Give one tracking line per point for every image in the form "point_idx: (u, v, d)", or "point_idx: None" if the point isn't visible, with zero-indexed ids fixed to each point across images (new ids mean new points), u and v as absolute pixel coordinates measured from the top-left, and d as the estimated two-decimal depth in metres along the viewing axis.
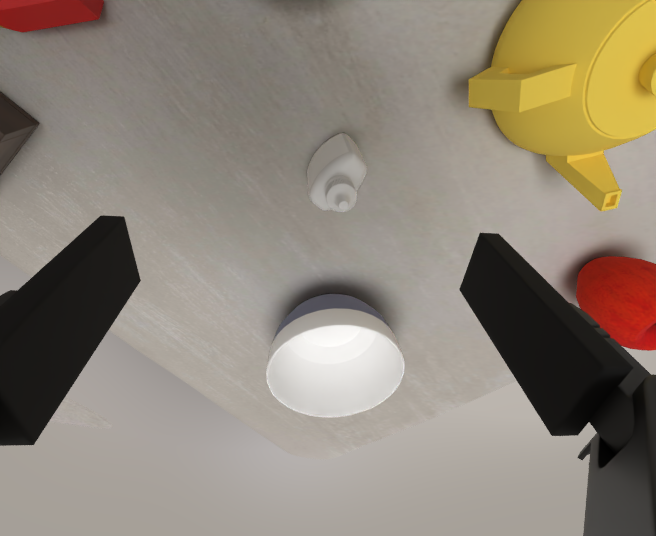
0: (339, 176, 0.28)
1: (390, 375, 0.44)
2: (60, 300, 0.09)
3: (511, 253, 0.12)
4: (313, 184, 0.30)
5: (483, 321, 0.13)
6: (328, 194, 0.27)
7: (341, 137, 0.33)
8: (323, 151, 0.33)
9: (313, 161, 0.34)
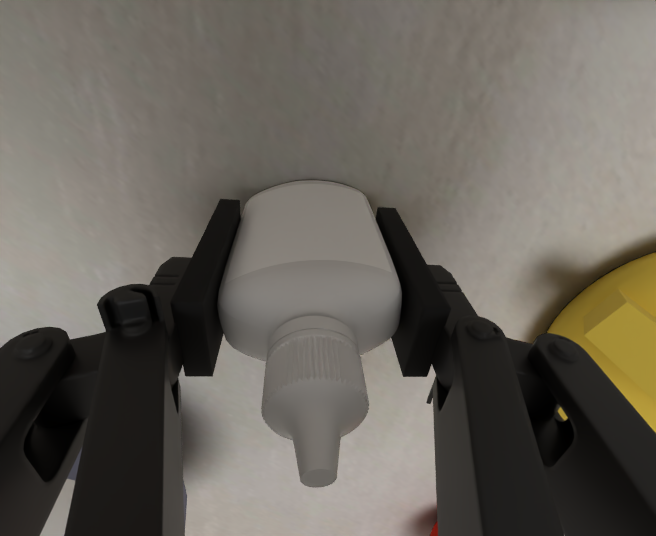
0: (343, 332, 0.09)
1: None
2: (221, 263, 0.11)
3: (396, 223, 0.13)
4: (255, 279, 0.10)
5: None
6: (291, 388, 0.07)
7: (363, 204, 0.14)
8: (316, 202, 0.13)
9: (279, 200, 0.14)
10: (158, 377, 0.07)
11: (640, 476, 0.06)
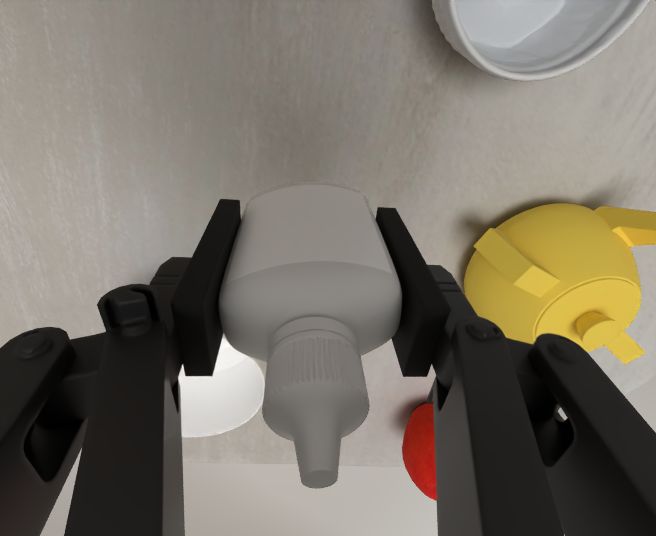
0: (343, 333, 0.09)
1: (227, 413, 0.38)
2: (221, 263, 0.11)
3: (396, 223, 0.13)
4: (256, 280, 0.10)
5: None
6: (292, 389, 0.07)
7: (364, 205, 0.14)
8: (316, 203, 0.13)
9: (279, 201, 0.14)
10: (158, 377, 0.07)
11: (639, 475, 0.06)
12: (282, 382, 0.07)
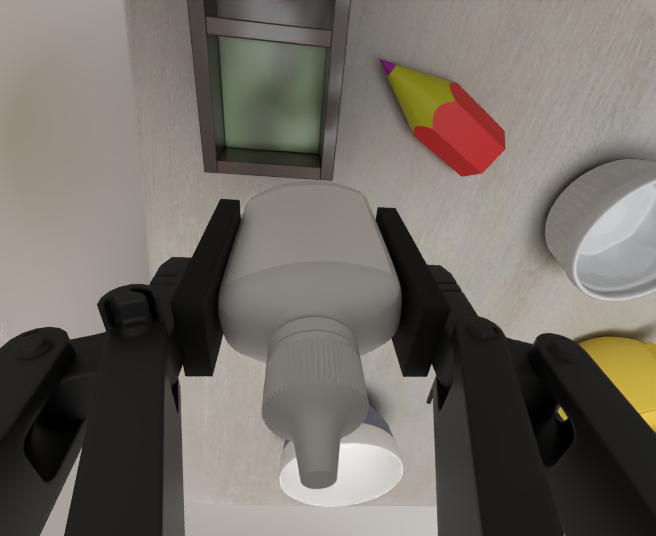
0: (343, 333, 0.09)
1: (360, 486, 0.50)
2: (221, 263, 0.11)
3: (396, 223, 0.13)
4: (255, 280, 0.10)
5: None
6: (291, 390, 0.07)
7: (363, 205, 0.14)
8: (316, 203, 0.13)
9: (279, 201, 0.14)
10: (158, 377, 0.07)
11: (639, 475, 0.06)
12: (281, 383, 0.07)
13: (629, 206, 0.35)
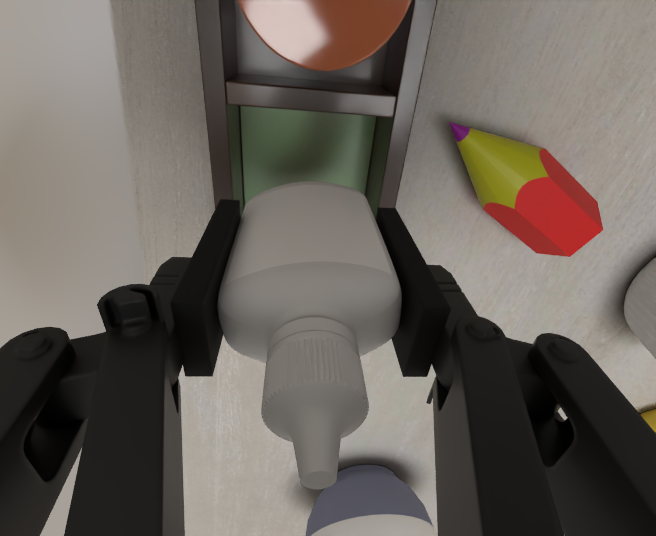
0: (343, 333, 0.09)
1: None
2: (221, 263, 0.11)
3: (396, 223, 0.13)
4: (255, 280, 0.10)
5: None
6: (291, 390, 0.07)
7: (363, 205, 0.14)
8: (316, 203, 0.13)
9: (279, 201, 0.14)
10: (158, 377, 0.07)
11: (639, 475, 0.06)
12: (281, 383, 0.07)
13: None
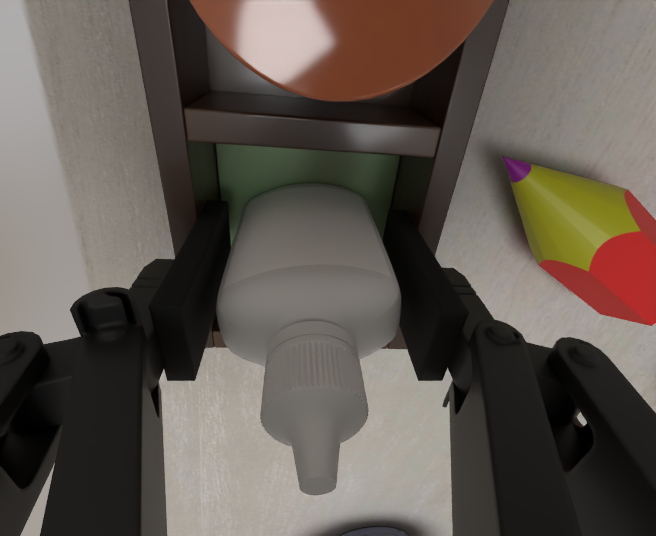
0: (342, 337, 0.09)
1: None
2: (205, 265, 0.11)
3: (408, 225, 0.13)
4: (254, 284, 0.10)
5: None
6: (290, 395, 0.07)
7: (362, 207, 0.14)
8: (314, 206, 0.13)
9: (278, 203, 0.14)
10: (135, 381, 0.07)
11: None
12: (280, 388, 0.07)
13: None
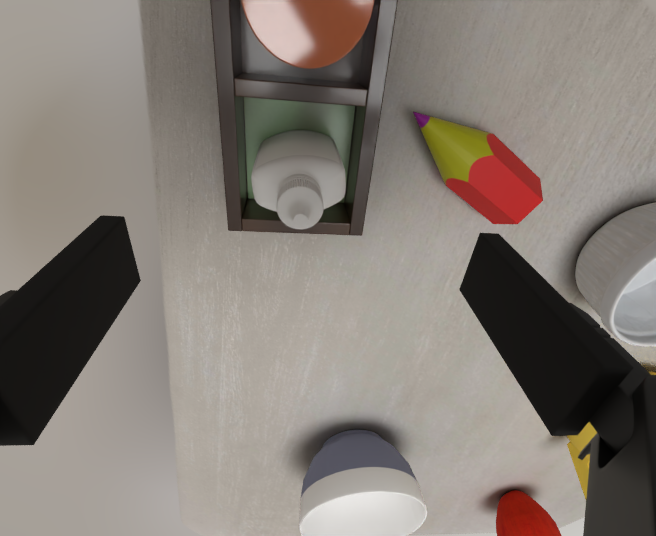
0: (313, 181, 0.19)
1: (380, 526, 0.49)
2: (60, 300, 0.09)
3: (510, 253, 0.12)
4: (271, 163, 0.20)
5: (483, 321, 0.13)
6: (289, 191, 0.17)
7: (330, 141, 0.24)
8: (302, 137, 0.23)
9: (281, 138, 0.24)
10: None
11: None
12: (285, 190, 0.17)
13: None
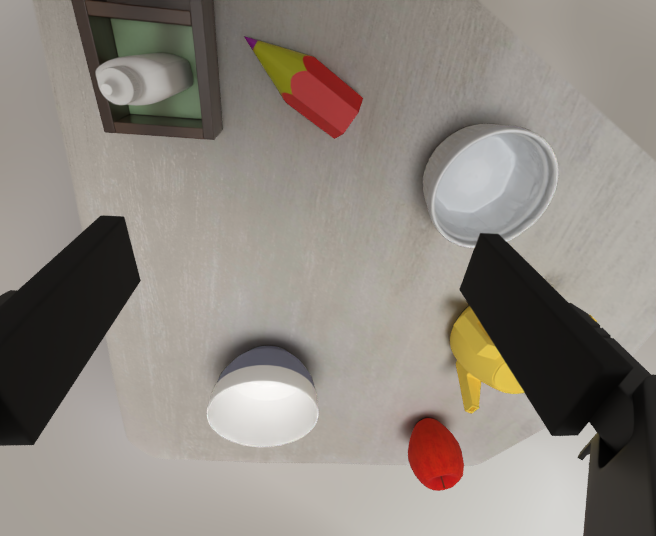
0: (132, 71, 0.26)
1: (288, 430, 0.56)
2: (60, 300, 0.09)
3: (510, 253, 0.12)
4: (107, 61, 0.27)
5: (483, 321, 0.13)
6: (103, 71, 0.24)
7: (179, 59, 0.31)
8: (152, 53, 0.30)
9: None
10: None
11: None
12: None
13: (493, 167, 0.41)
